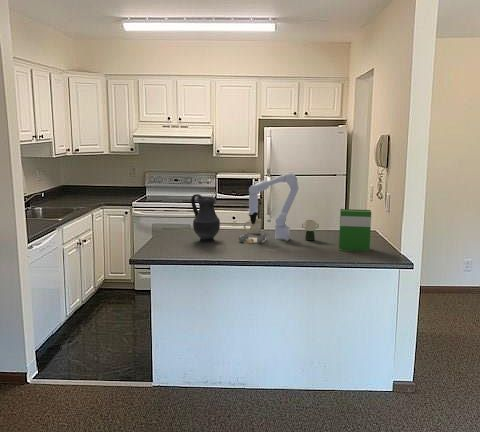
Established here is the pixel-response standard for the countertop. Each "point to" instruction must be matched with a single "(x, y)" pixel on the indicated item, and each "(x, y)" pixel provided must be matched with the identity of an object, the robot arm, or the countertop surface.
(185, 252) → the countertop surface
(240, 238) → the spacers
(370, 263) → the countertop surface
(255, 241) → the plate
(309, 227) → the character mug
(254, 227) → the mug
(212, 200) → the pitcher
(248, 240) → the faceted gold polyhedron
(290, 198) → the robot arm
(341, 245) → the green cereal box
